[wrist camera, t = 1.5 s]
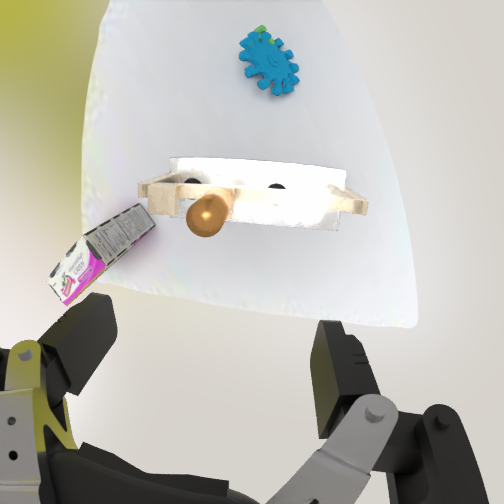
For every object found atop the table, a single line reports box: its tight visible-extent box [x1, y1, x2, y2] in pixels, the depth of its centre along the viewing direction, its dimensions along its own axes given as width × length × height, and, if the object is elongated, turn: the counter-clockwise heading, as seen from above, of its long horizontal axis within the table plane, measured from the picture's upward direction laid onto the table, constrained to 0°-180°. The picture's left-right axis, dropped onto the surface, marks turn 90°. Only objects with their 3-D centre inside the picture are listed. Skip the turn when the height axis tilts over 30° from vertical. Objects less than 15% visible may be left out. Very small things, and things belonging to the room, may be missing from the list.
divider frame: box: [138, 157, 368, 231], centre depth 34 cm, size 9×25×14 cm, turn 86°
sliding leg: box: [186, 185, 236, 237], centre depth 30 cm, size 3×3×18 cm
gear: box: [239, 25, 299, 96], centre depth 31 cm, size 11×6×10 cm
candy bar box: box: [46, 203, 155, 306], centre depth 36 cm, size 11×5×16 cm, turn 126°
